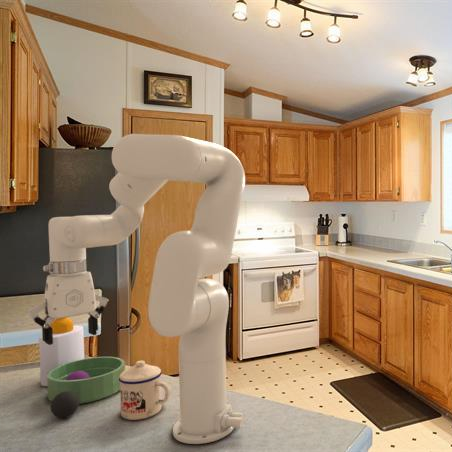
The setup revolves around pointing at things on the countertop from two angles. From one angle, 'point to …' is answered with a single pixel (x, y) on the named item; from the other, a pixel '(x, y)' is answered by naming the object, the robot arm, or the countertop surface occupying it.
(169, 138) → the robot arm
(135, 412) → the teacup with lid
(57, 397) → the charcoal ball
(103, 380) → the green bowl
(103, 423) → the countertop surface
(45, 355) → the soap bottle
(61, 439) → the countertop surface
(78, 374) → the purple ball
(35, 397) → the countertop surface
